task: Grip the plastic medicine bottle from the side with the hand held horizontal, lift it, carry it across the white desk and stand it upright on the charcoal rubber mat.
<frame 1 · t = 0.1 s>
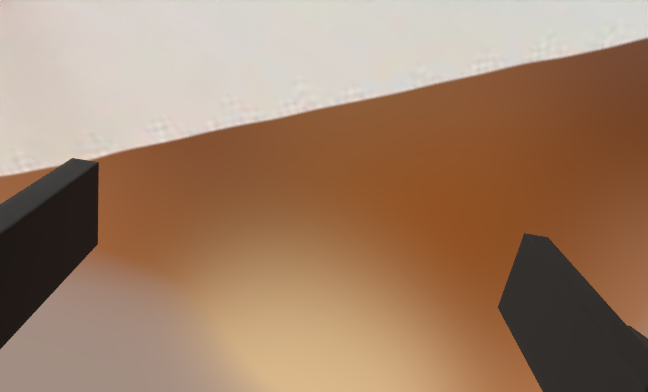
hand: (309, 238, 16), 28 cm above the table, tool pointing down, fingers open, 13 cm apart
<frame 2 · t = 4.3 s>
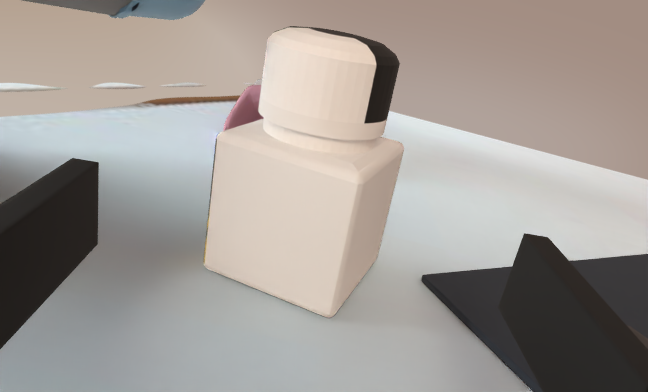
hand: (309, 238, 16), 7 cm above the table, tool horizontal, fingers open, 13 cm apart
medicine bottle: (294, 267, 27), on the table
video game controller: (281, 150, 45), on the table
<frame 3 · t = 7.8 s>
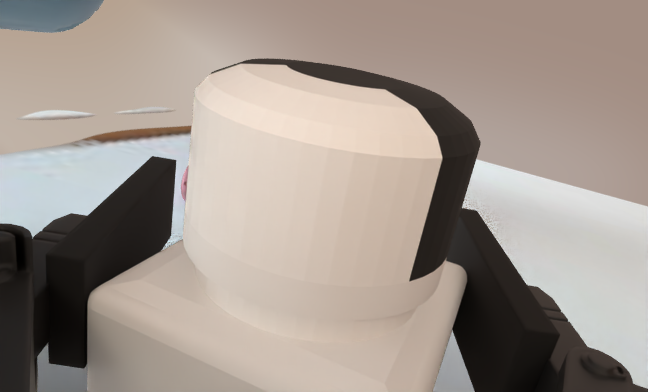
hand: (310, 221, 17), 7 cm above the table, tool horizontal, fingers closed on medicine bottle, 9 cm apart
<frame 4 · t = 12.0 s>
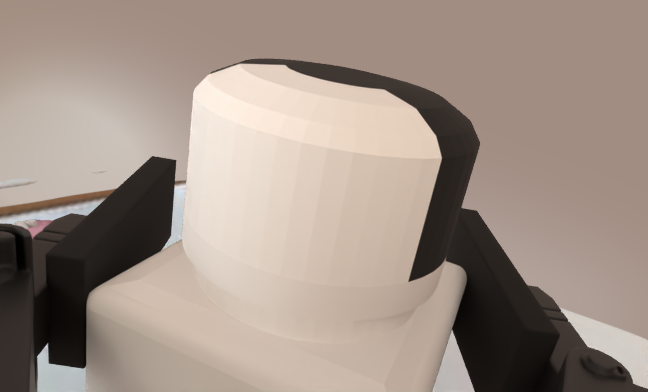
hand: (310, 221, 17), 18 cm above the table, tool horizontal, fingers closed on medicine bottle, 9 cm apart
video game controller: (47, 302, 39), on the table
when the fingers open (7 cm above the table, at t = 16.2 s): medicine bottle stays where it is, resting on mat.
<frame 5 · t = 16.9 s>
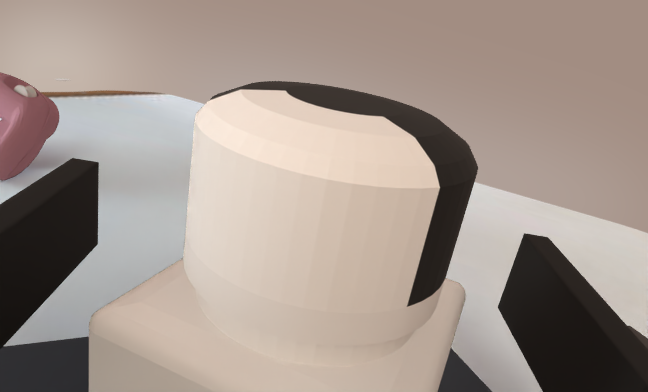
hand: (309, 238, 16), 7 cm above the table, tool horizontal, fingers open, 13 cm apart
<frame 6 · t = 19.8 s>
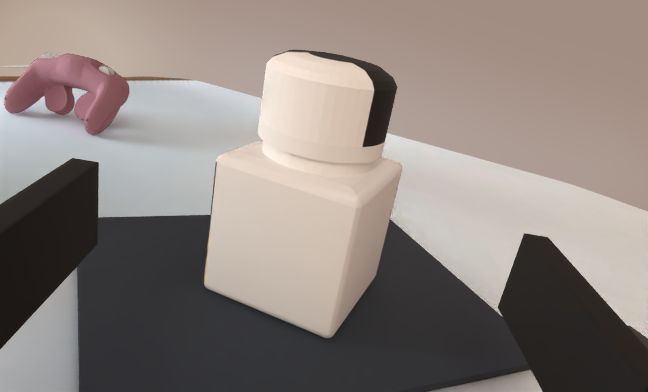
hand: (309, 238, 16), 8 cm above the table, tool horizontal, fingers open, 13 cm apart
medicine bottle: (294, 286, 27), resting on mat
mat: (292, 288, 28), on the table
video game controller: (69, 121, 47), on the table
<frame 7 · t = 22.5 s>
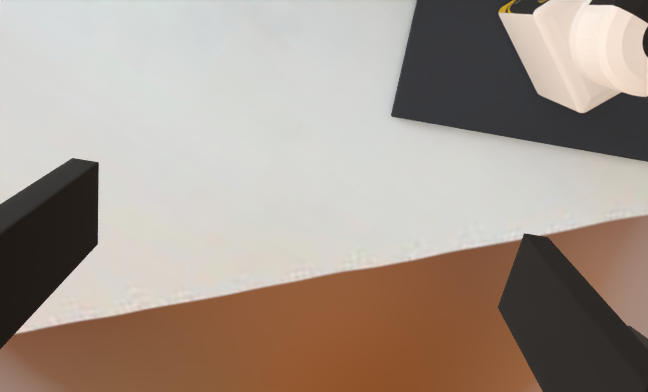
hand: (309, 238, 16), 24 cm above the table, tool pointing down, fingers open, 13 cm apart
medicine bottle: (561, 26, 36), resting on mat
mat: (560, 24, 36), on the table
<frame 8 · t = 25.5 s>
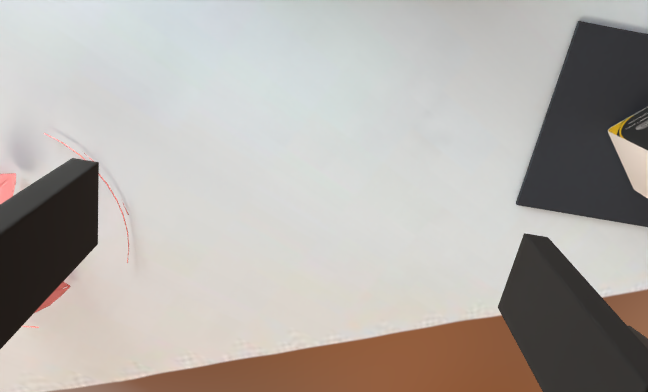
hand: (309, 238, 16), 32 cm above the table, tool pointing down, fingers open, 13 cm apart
figurine: (59, 228, 51), on the table
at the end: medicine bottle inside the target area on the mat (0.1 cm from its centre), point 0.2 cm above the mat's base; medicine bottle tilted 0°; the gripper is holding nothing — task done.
